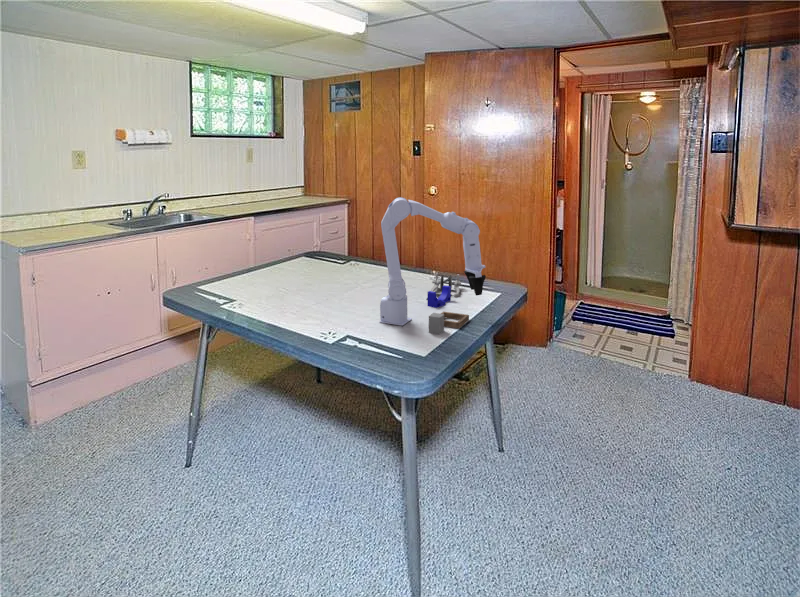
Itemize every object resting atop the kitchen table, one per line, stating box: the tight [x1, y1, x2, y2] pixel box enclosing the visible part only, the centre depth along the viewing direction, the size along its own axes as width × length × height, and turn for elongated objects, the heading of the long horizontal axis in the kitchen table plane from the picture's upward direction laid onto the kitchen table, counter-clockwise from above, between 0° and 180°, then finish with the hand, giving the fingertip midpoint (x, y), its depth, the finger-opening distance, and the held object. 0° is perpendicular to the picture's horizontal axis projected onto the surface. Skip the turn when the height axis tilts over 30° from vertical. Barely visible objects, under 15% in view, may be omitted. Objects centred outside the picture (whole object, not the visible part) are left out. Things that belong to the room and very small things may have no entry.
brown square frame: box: [440, 311, 470, 330], centre depth 192 cm, size 10×10×2 cm
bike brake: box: [426, 272, 462, 301], centre depth 227 cm, size 14×7×20 cm
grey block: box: [428, 312, 445, 335], centre depth 182 cm, size 4×4×6 cm
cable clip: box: [427, 285, 452, 309], centre depth 214 cm, size 12×4×6 cm, turn 141°
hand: (476, 292), depth 192 cm, fingers open, 7 cm apart
